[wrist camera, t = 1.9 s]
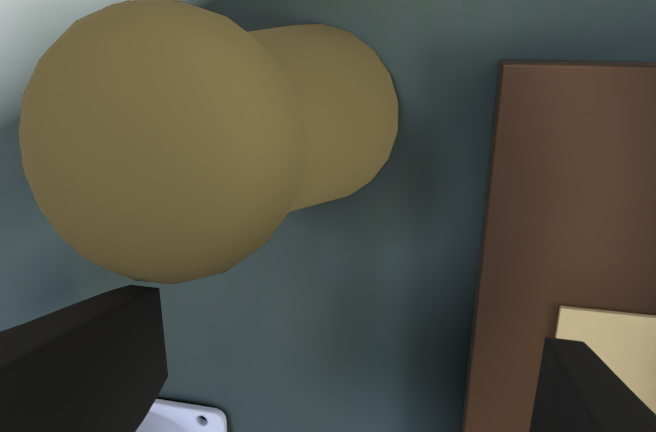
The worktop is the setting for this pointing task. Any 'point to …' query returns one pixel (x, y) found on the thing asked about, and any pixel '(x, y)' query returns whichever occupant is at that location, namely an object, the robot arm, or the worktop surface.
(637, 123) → the shelf
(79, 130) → the olive door knob
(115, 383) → the robot arm
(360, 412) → the worktop surface
